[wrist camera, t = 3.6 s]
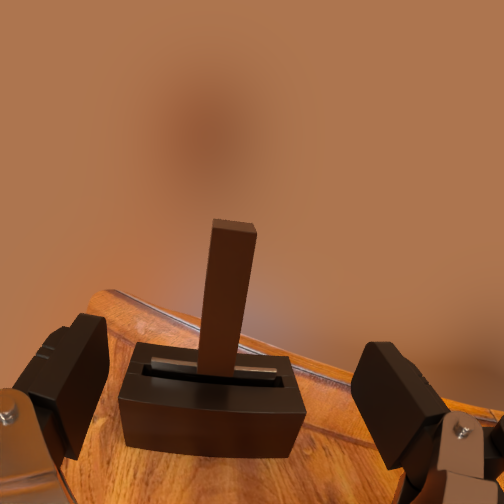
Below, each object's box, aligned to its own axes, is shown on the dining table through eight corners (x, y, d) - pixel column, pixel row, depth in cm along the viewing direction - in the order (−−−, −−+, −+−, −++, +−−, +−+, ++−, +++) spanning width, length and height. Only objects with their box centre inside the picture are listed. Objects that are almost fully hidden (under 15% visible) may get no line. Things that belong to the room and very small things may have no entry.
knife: (262, 437, 21) (313, 240, 16) (151, 429, 19) (153, 220, 15) (259, 419, 22) (304, 230, 18) (155, 410, 21) (160, 211, 17)
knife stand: (288, 457, 19) (307, 412, 17) (125, 446, 17) (117, 397, 16) (275, 402, 25) (288, 356, 23) (139, 390, 23) (136, 341, 22)
